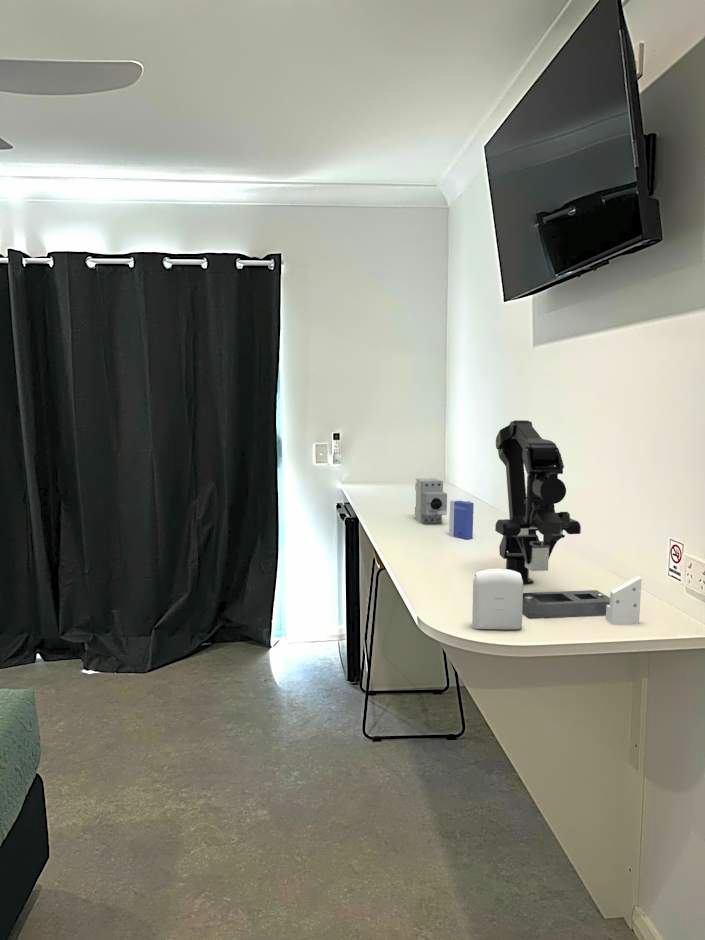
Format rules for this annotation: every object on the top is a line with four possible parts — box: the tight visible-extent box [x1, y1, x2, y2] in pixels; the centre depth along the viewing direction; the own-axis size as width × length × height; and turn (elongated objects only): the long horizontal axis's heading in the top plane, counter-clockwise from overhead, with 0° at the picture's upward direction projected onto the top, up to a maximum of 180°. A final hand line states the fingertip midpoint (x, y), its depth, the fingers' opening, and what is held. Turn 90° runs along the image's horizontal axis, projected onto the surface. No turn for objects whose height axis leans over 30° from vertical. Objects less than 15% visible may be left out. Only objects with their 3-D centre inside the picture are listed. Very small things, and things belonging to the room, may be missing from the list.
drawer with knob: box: [525, 540, 550, 572], centre depth 176 cm, size 4×4×6 cm
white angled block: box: [605, 575, 643, 625], centre depth 161 cm, size 4×10×9 cm, turn 92°
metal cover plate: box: [522, 589, 610, 620], centre depth 169 cm, size 9×20×3 cm, turn 100°
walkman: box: [448, 499, 474, 541], centre depth 245 cm, size 8×3×12 cm, turn 39°
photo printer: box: [471, 568, 524, 630], centre depth 156 cm, size 10×4×12 cm, turn 88°
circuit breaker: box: [414, 477, 448, 525], centre depth 269 cm, size 8×14×15 cm, turn 14°
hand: (536, 563), depth 176 cm, fingers closed on drawer with knob, 4 cm apart
